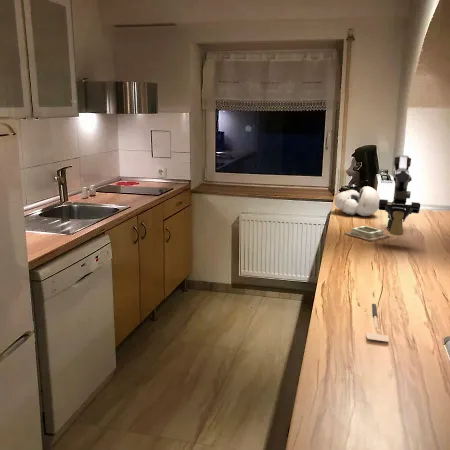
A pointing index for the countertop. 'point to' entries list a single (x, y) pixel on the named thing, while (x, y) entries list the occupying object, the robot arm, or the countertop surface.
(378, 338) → the spatula
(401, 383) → the countertop surface
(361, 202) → the white lobed sculpture
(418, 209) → the robot arm
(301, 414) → the countertop surface
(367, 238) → the shaker holder
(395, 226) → the cork
